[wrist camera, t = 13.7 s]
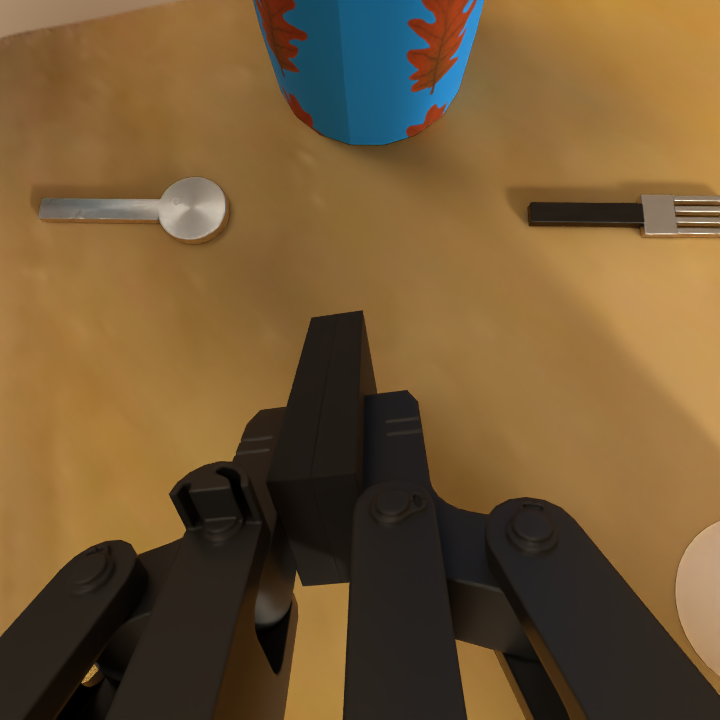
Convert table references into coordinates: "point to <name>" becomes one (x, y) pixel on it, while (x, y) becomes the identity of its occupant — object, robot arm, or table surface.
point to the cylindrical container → (701, 595)
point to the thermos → (369, 62)
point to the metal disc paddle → (153, 210)
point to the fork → (634, 215)
